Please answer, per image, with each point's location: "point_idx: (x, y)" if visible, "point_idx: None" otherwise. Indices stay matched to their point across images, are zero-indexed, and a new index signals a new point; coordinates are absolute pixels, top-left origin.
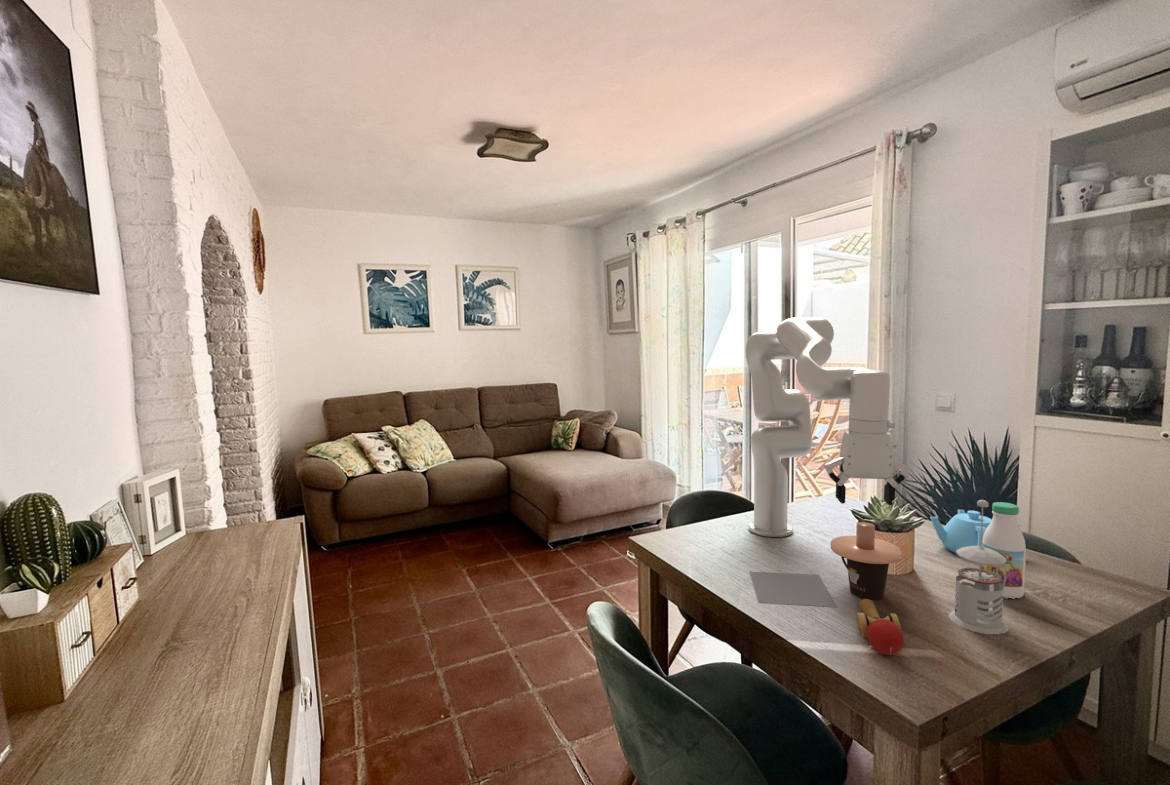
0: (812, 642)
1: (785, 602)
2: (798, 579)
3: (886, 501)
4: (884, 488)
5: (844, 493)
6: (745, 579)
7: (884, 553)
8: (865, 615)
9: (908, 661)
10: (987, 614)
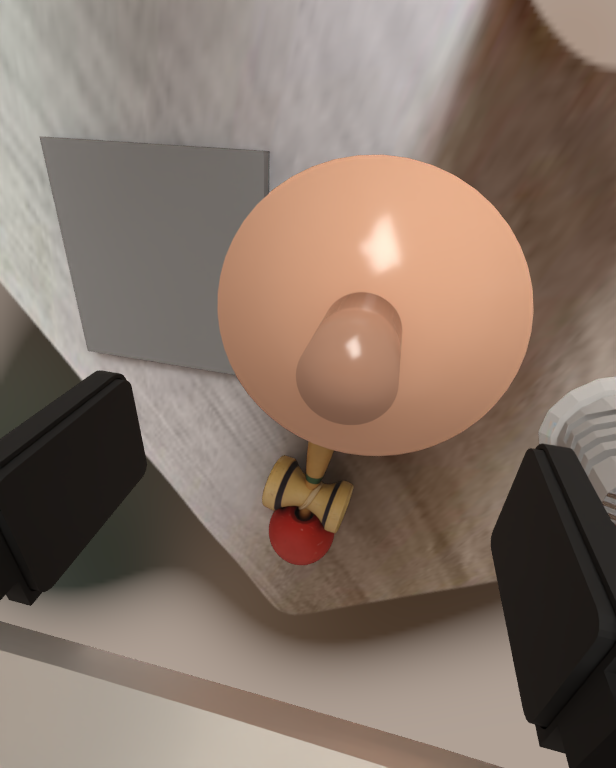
0: (191, 473)
1: (145, 352)
2: (189, 201)
3: (508, 511)
4: (576, 567)
5: (84, 538)
6: (44, 174)
7: (409, 406)
8: (276, 503)
9: (335, 533)
10: (606, 506)
